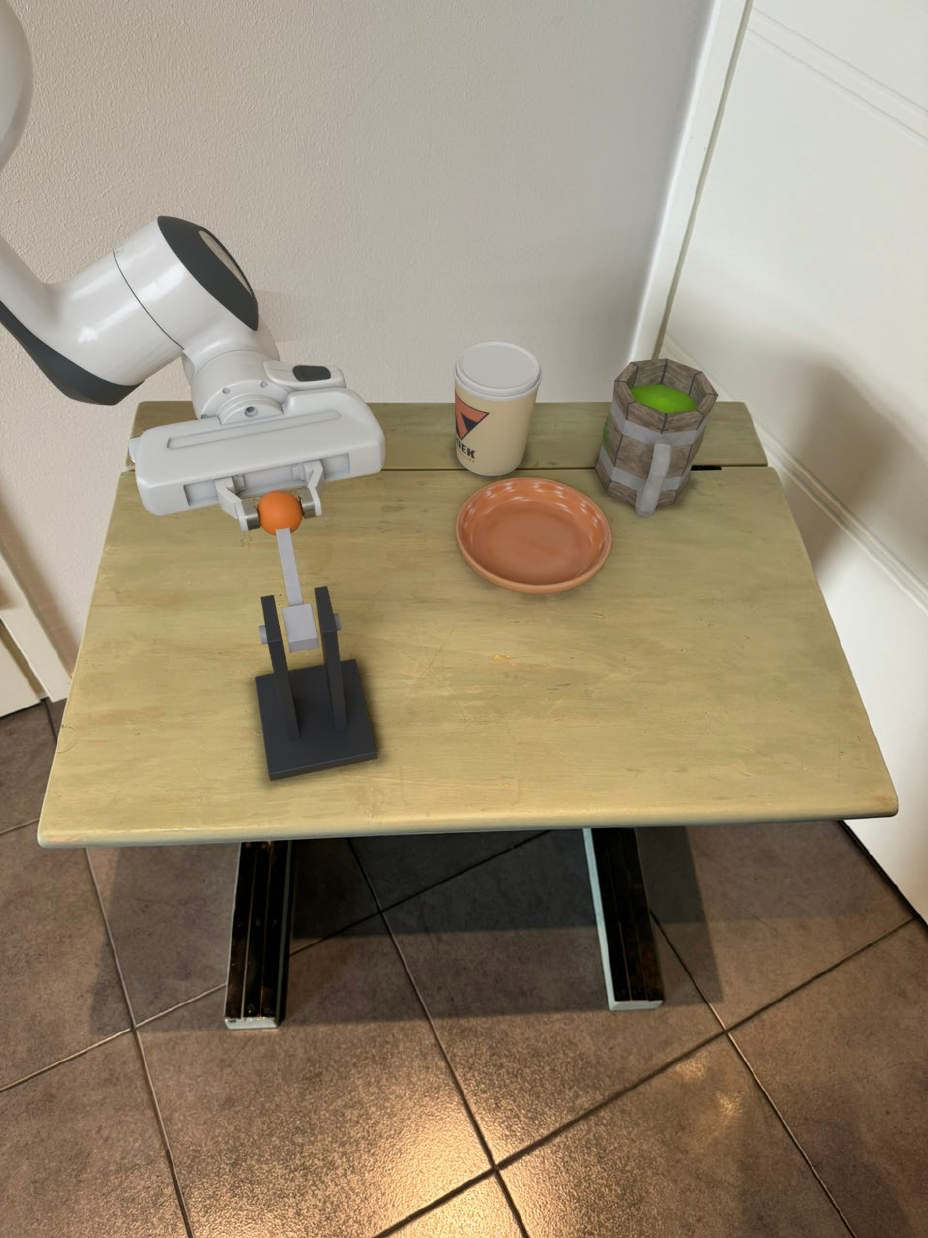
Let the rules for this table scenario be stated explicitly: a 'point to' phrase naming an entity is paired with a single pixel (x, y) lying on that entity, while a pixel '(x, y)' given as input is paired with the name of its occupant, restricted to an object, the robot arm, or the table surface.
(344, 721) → the switch base
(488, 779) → the table surface
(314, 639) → the lever
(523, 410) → the coffee cup
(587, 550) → the saucer
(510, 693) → the table surface
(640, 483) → the mug
